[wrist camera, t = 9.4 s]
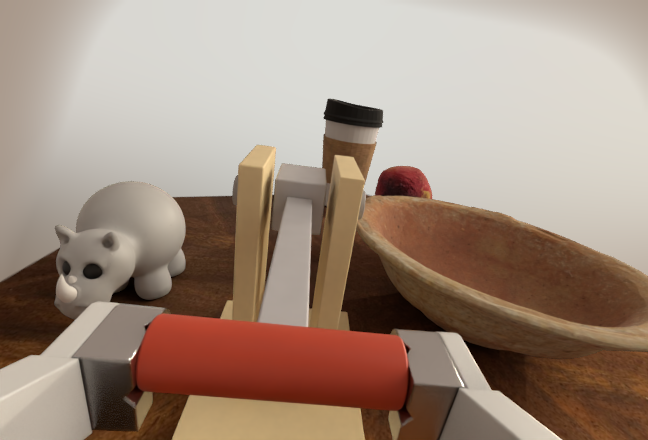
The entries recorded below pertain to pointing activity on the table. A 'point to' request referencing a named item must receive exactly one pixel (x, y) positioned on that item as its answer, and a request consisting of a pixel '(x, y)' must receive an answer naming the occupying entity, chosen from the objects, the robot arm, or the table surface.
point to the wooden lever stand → (249, 282)
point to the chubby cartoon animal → (120, 246)
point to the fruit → (403, 183)
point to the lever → (278, 331)
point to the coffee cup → (349, 135)
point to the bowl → (506, 279)
